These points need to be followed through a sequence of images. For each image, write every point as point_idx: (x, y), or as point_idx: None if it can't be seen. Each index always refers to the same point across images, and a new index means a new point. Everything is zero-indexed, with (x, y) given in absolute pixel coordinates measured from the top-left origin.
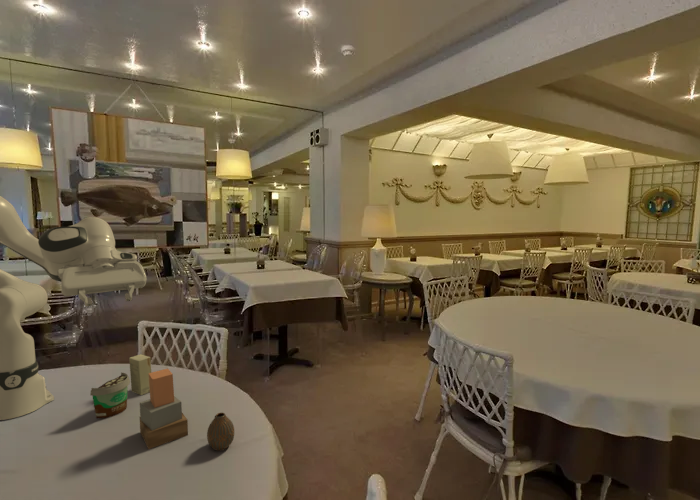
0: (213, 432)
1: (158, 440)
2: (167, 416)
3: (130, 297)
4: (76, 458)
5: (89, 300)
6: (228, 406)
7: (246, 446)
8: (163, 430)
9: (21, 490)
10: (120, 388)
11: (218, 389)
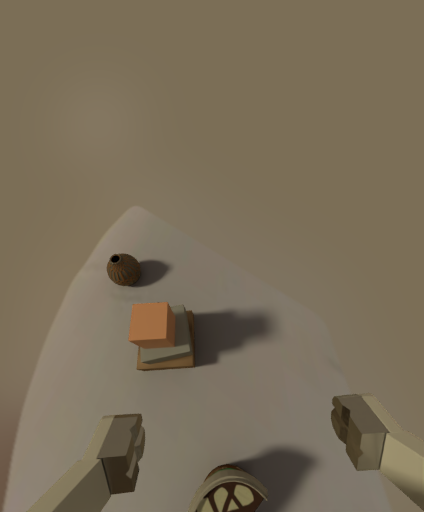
0: (133, 258)
1: None
2: None
3: (114, 416)
4: (267, 347)
5: (359, 408)
6: (69, 365)
7: None
8: None
9: (310, 316)
10: (209, 479)
11: (37, 455)
